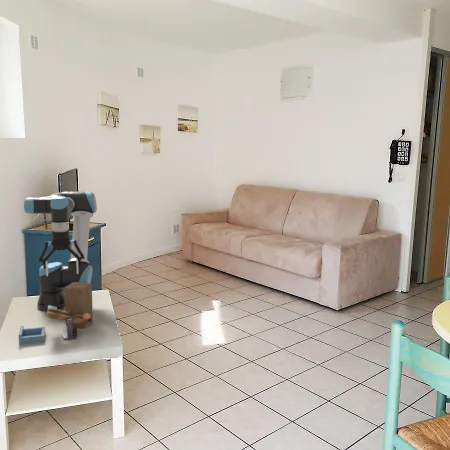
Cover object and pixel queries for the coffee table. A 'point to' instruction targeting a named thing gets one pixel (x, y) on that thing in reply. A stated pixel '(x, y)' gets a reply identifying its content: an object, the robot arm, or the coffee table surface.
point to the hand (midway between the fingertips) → (62, 274)
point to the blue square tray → (31, 335)
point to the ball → (86, 316)
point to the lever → (67, 316)
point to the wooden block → (78, 300)
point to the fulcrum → (69, 331)
